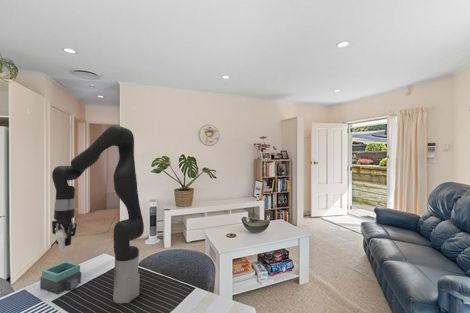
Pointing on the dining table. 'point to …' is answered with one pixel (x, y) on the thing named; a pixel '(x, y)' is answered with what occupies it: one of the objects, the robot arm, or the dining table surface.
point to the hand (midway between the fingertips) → (63, 244)
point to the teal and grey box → (60, 277)
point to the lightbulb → (61, 240)
